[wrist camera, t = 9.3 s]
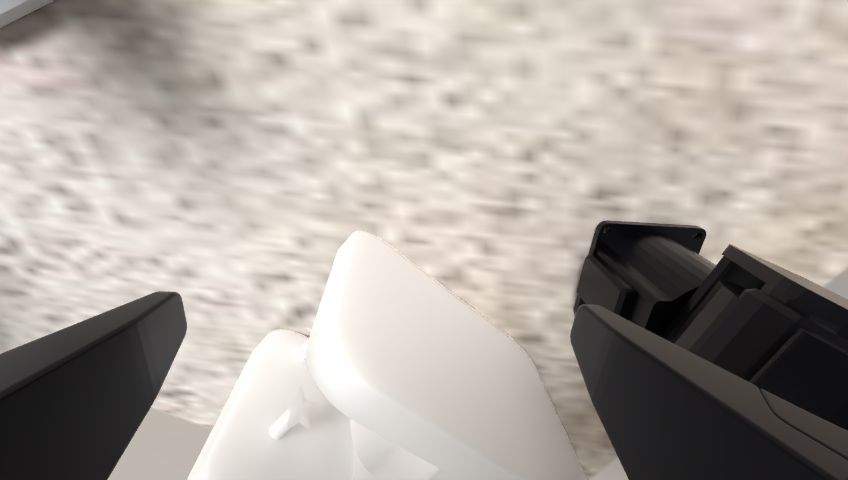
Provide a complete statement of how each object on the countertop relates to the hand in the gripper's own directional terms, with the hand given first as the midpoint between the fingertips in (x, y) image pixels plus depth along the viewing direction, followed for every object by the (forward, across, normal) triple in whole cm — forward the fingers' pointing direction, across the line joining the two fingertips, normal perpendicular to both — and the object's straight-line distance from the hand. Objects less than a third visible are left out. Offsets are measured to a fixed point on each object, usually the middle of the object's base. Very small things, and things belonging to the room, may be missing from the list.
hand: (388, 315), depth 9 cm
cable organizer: (+13, -1, +11) cm, 17 cm away
